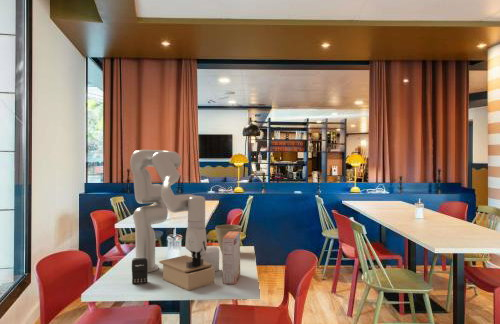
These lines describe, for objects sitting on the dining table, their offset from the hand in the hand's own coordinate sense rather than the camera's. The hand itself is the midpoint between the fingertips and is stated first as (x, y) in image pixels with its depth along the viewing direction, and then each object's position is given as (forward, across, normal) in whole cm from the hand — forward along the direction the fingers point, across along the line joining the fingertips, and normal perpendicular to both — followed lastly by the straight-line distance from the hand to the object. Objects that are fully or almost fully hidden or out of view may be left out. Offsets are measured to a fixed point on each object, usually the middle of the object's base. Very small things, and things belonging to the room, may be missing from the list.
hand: (196, 266), depth 160 cm
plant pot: (+9, -31, +45) cm, 55 cm away
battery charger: (+9, -21, -16) cm, 28 cm away
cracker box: (+9, +4, +17) cm, 20 cm away
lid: (+1, -10, +1) cm, 10 cm away
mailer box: (+9, -8, +1) cm, 12 cm away
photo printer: (+9, -13, +17) cm, 23 cm away
